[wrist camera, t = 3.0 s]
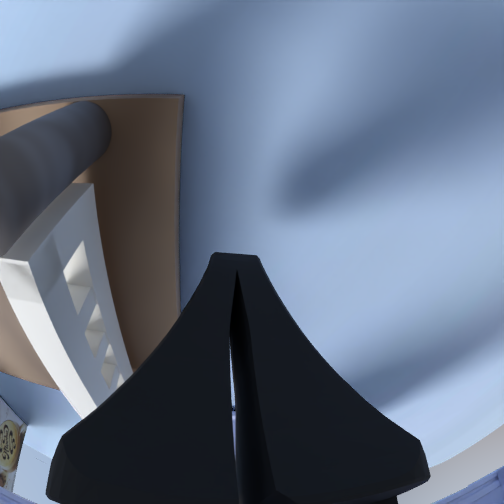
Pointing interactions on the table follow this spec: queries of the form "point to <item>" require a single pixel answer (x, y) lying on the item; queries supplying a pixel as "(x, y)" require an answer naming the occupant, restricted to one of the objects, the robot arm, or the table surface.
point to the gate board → (99, 206)
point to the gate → (68, 299)
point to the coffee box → (9, 444)
